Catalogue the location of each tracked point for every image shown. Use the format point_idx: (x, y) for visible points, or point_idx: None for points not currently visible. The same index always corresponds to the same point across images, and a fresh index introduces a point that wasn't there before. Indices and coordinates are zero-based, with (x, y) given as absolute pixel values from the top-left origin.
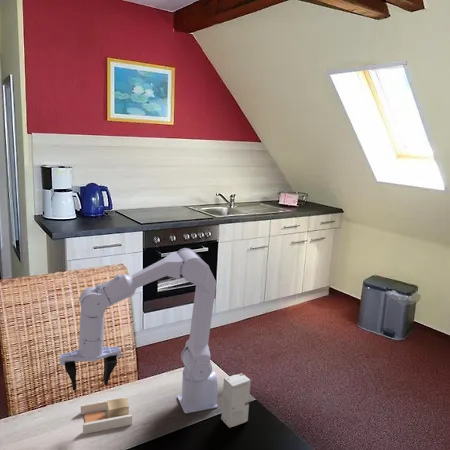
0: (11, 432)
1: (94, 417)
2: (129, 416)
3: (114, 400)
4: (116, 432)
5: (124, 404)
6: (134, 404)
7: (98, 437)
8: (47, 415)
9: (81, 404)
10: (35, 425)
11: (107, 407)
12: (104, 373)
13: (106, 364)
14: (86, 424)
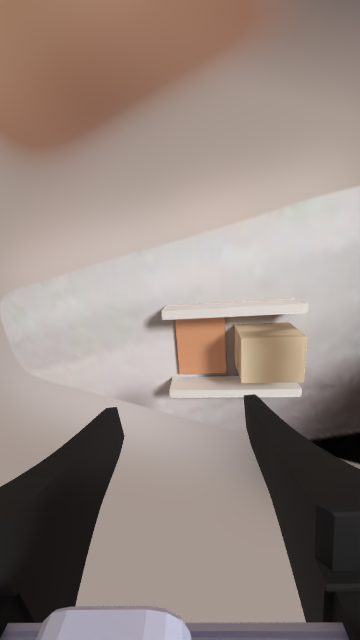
0: (20, 337)
1: (200, 337)
2: (293, 396)
3: (265, 343)
4: None
5: (292, 370)
6: (318, 302)
7: (206, 401)
8: (84, 295)
9: (164, 312)
10: (64, 326)
11: (238, 343)
12: (259, 436)
13: (299, 571)
14: (178, 397)
